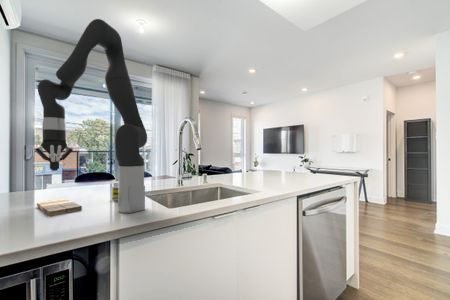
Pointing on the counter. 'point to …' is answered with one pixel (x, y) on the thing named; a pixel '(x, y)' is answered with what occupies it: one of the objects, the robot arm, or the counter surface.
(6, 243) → the counter surface
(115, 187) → the supplement bottle
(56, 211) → the brown flat square block
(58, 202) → the oak plank
